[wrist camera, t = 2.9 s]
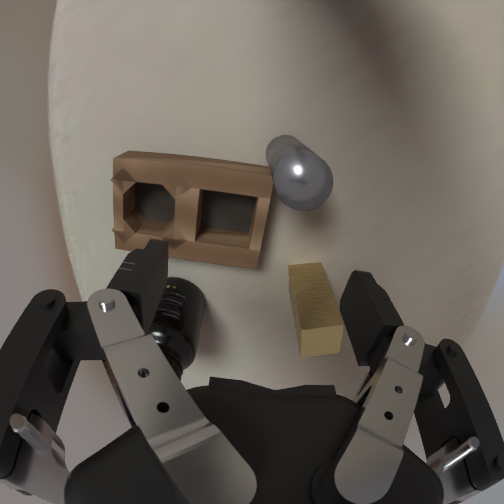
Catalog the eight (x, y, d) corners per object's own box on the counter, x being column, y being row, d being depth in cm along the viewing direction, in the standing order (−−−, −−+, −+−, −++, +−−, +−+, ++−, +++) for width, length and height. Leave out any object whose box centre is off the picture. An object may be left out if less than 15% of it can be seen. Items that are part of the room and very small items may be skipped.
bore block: (125, 150, 25) (110, 158, 22) (271, 167, 26) (274, 176, 23) (125, 232, 29) (113, 248, 26) (255, 250, 31) (256, 269, 28)
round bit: (269, 131, 25) (280, 148, 16) (308, 139, 25) (339, 160, 16) (262, 168, 26) (269, 205, 18) (300, 175, 27) (325, 214, 18)
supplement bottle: (208, 319, 35) (196, 400, 25) (156, 318, 35) (131, 394, 25) (201, 274, 32) (182, 356, 22) (144, 274, 32) (108, 350, 22)
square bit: (288, 265, 32) (301, 330, 23) (320, 262, 31) (344, 324, 23) (289, 291, 33) (300, 357, 25) (319, 288, 33) (339, 352, 24)
